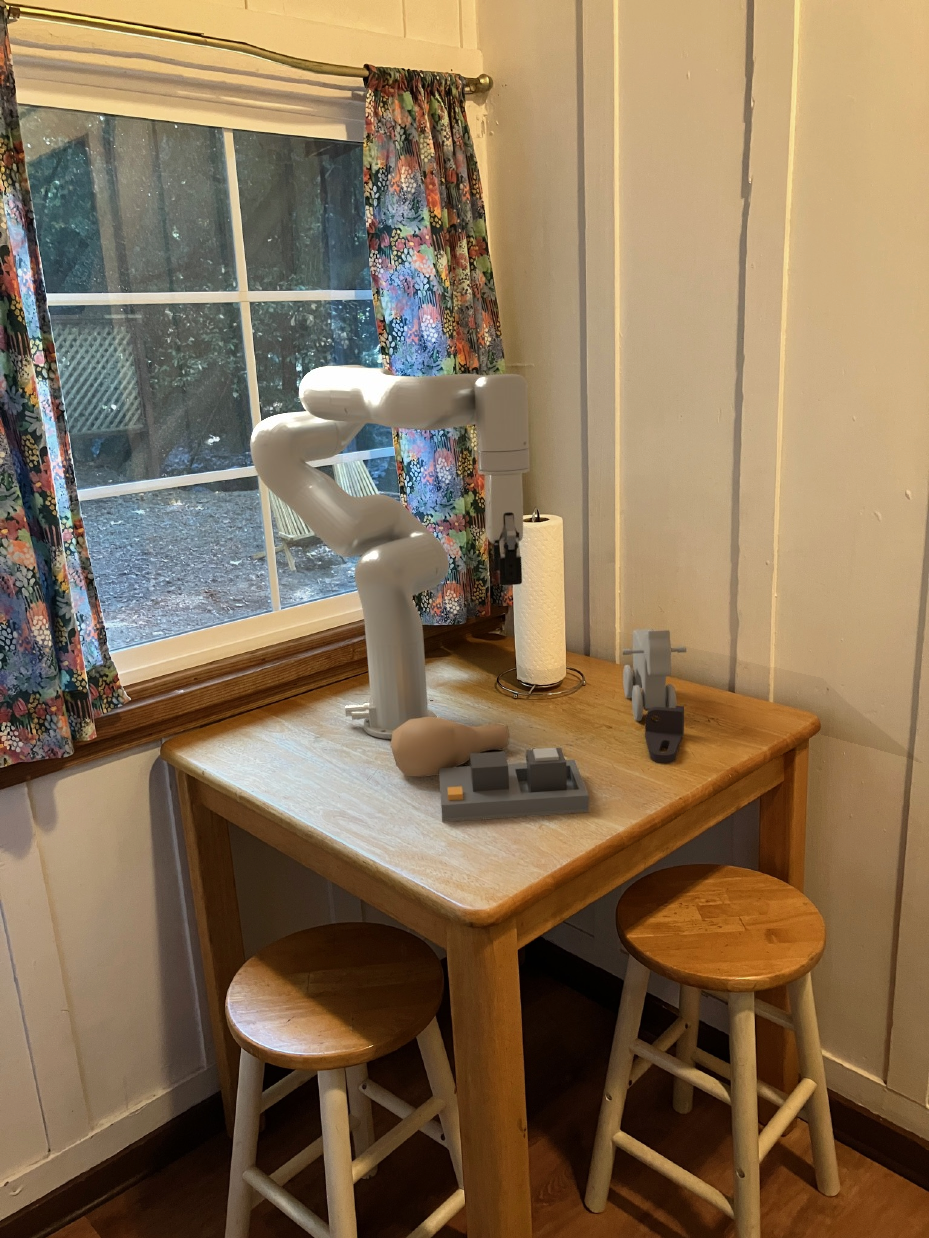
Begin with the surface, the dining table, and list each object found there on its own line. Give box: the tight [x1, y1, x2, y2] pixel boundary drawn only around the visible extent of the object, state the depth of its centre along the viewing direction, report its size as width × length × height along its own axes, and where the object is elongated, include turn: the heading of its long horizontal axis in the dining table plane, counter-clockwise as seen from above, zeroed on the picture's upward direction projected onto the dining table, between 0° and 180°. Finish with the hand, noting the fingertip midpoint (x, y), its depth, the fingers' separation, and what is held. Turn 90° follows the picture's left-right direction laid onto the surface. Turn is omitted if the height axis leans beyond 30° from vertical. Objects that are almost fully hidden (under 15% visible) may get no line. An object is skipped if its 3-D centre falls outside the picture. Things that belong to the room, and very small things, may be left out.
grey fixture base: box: [438, 751, 590, 823], centre depth 136 cm, size 20×12×6 cm, turn 93°
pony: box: [622, 628, 687, 722], centre depth 164 cm, size 20×10×17 cm, turn 179°
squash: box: [389, 716, 510, 777], centre depth 148 cm, size 11×20×9 cm, turn 128°
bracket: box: [644, 705, 685, 765], centre depth 150 cm, size 6×12×5 cm, turn 161°
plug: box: [525, 747, 567, 793], centre depth 136 cm, size 5×5×6 cm
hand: (507, 576), depth 144 cm, fingers open, 9 cm apart
